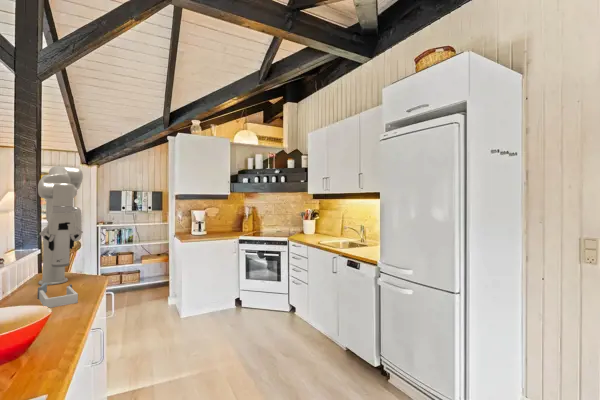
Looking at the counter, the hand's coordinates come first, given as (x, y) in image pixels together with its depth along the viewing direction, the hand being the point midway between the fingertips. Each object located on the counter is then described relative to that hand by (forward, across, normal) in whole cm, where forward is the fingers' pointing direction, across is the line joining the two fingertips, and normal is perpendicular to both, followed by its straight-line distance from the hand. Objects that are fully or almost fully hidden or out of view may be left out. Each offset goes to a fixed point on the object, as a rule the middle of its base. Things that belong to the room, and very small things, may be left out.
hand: (61, 249), depth 137 cm
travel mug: (+8, 0, 0) cm, 8 cm away
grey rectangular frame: (+24, 0, -2) cm, 24 cm away
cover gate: (+24, +4, -16) cm, 29 cm away
